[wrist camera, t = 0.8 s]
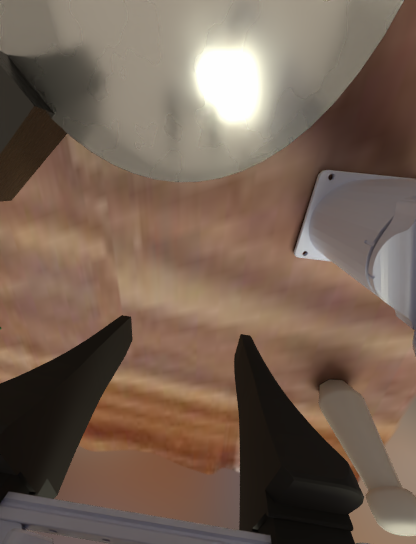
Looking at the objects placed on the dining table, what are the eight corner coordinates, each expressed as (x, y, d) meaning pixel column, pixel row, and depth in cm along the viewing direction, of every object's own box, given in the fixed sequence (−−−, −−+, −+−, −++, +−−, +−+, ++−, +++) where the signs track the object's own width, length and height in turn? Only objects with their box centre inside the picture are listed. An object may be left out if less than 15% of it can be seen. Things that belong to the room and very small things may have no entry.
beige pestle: (317, 373, 27) (384, 517, 16) (359, 375, 27) (461, 526, 15) (309, 398, 30) (362, 537, 18) (347, 400, 29) (428, 545, 18)
